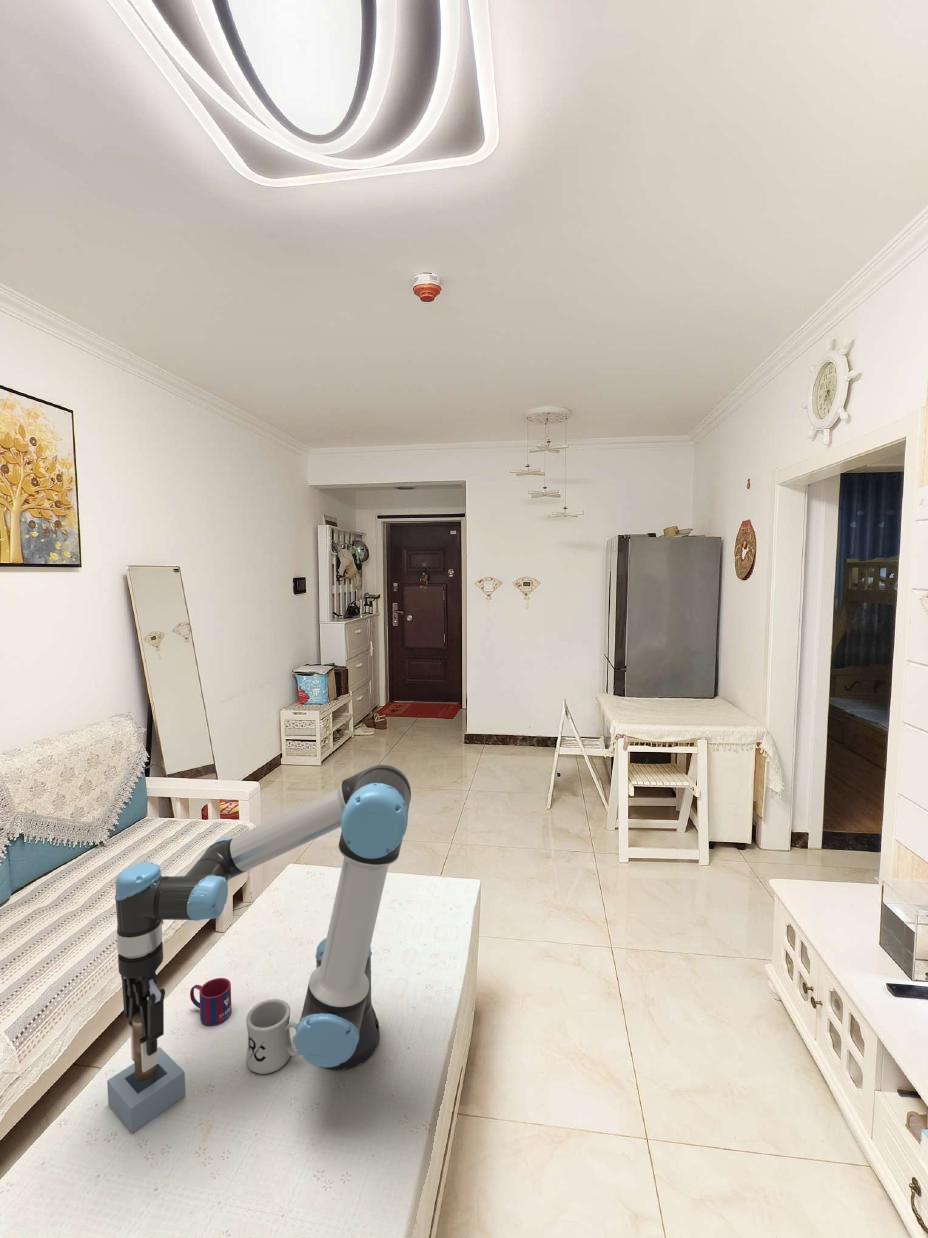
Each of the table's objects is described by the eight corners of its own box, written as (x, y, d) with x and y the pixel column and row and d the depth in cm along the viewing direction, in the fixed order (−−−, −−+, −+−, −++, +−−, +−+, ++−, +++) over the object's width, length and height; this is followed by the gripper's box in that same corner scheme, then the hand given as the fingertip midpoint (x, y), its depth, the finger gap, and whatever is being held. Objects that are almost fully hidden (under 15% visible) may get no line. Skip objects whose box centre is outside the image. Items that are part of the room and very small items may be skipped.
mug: (237, 1071, 120) (236, 1026, 120) (262, 1037, 129) (261, 995, 128) (291, 1084, 117) (290, 1037, 117) (313, 1048, 126) (312, 1005, 125)
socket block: (185, 1095, 115) (184, 1072, 114) (131, 1134, 107) (130, 1109, 106) (160, 1069, 121) (159, 1047, 120) (108, 1104, 113) (107, 1080, 112)
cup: (216, 1030, 131) (215, 1001, 131) (182, 1017, 135) (181, 990, 134) (237, 1009, 137) (237, 982, 137) (205, 998, 141) (204, 971, 140)
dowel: (159, 1072, 114) (157, 1014, 113) (140, 1085, 111) (137, 1026, 110) (150, 1062, 116) (148, 1005, 115) (131, 1075, 113) (128, 1017, 112)
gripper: (182, 954, 109) (185, 1070, 111) (140, 921, 119) (144, 1029, 121) (140, 975, 103) (144, 1098, 105) (100, 940, 113) (105, 1052, 115)
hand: (144, 1061), depth 113 cm, fingers closed on dowel, 3 cm apart
